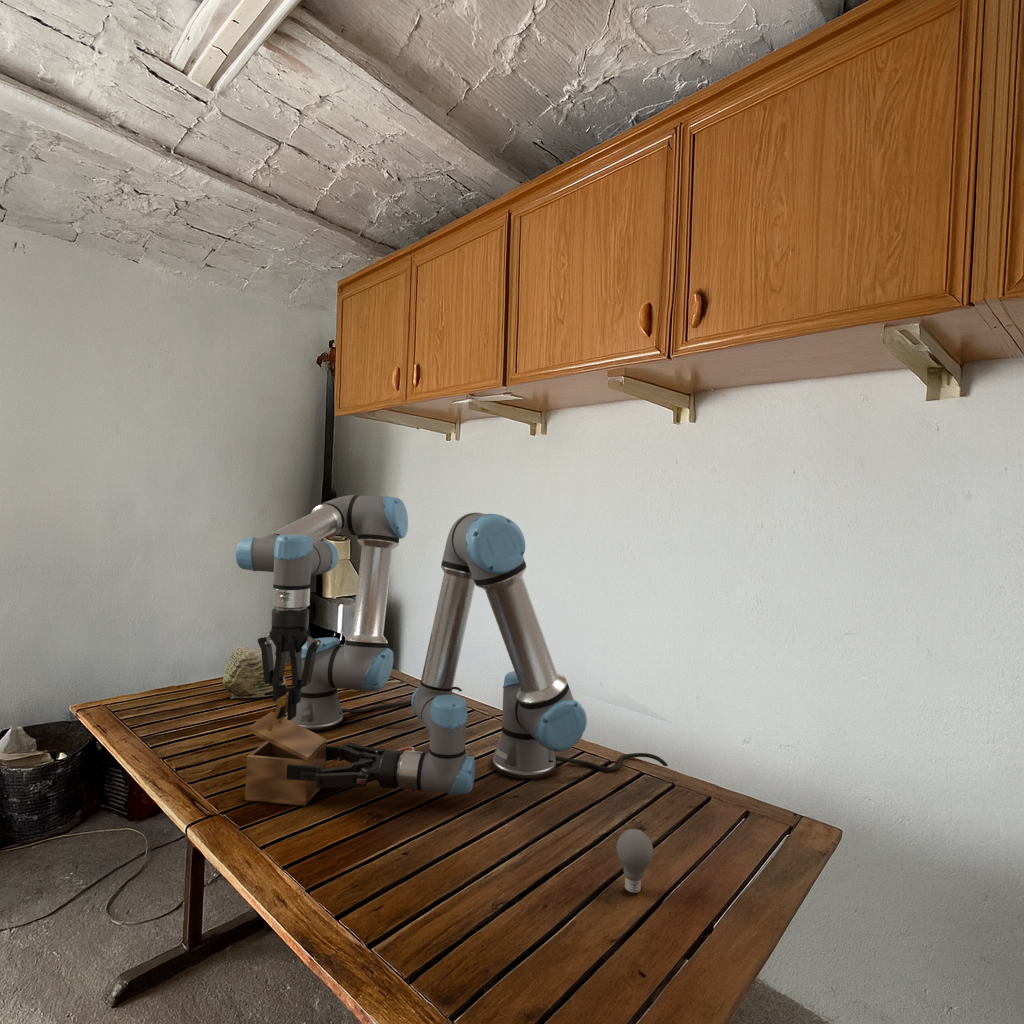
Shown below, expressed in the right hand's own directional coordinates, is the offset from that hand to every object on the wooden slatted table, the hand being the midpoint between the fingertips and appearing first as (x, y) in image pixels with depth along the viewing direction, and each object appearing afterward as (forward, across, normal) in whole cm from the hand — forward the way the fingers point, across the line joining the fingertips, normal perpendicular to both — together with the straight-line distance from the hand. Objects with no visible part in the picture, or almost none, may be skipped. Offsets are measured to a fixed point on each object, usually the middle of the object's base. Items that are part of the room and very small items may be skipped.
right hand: (298, 760), depth 135 cm
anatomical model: (-14, +15, -7) cm, 22 cm away
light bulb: (-68, -23, -7) cm, 73 cm away
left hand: (+3, 0, +9) cm, 10 cm away
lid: (+3, 0, +5) cm, 6 cm away
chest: (+3, 0, -7) cm, 7 cm away
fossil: (+41, +60, -7) cm, 72 cm away
